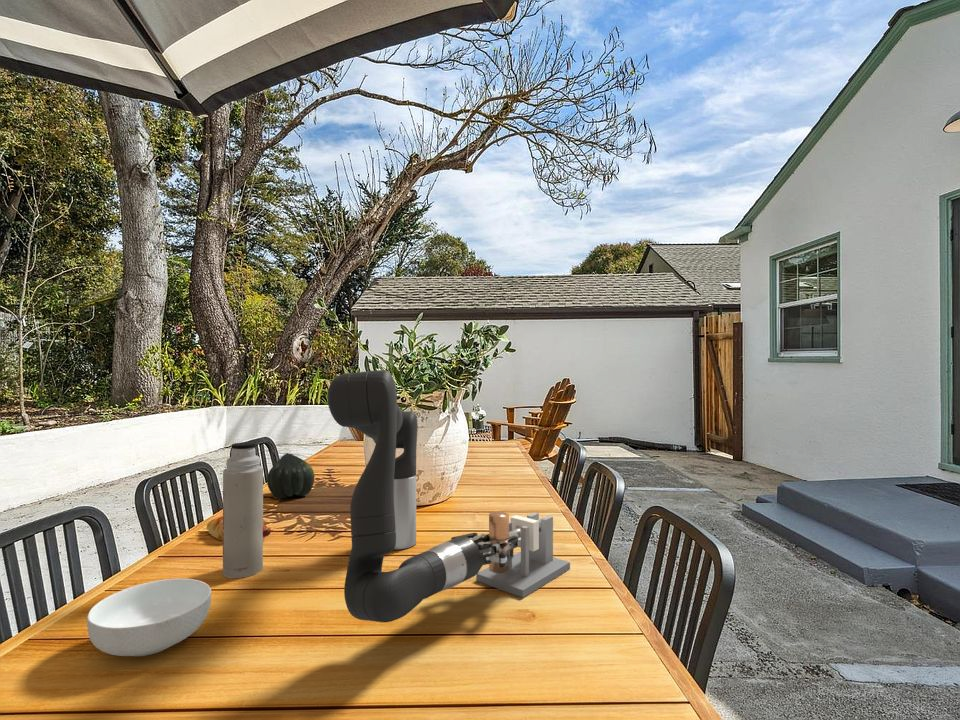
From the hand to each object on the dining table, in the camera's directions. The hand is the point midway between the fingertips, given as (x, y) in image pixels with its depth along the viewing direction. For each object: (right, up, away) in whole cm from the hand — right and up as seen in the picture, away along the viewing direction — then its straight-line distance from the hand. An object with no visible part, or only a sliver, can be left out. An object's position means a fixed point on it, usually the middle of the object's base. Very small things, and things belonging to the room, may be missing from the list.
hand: (506, 538), depth 104 cm
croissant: (-69, -10, +29) cm, 75 cm away
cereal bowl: (-59, -10, -22) cm, 64 cm away
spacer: (+4, -3, +5) cm, 7 cm away
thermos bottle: (-58, -10, +6) cm, 59 cm away
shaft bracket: (+4, -10, +5) cm, 11 cm away
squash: (-70, -10, +68) cm, 98 cm away
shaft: (+3, -6, +4) cm, 7 cm away
